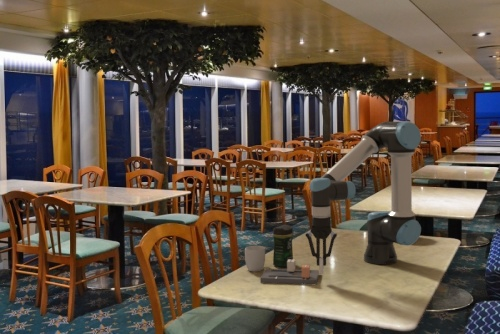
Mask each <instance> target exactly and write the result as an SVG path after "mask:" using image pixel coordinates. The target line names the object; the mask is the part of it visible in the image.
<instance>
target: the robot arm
mask: <svg viewBox="0 0 500 334" xmlns="http://www.w3.org/2000/svg"><path fill="white" fill-rule="evenodd" d="M421 134H422V133H421V131H420V129H419V127H418V126H417V125H416V124H415V123H413V122H410V121H403V120H402V121H384V122H380V123H378V124H377V125H375V126H374V127H372V128H371V129H370V130H368V131H367V132H366V133H365V134H363V136H362V137H361V139H360V141H359V142H358V143H357V144H356V145H355V146H354V147H353V148H351V149H350V150H349V151H348V152H347V153H346V154H345V155H344V156H343V157H342V158H341V159H339V161H337V162H336V163H335V164H334V165H333V166H332V167H331V168H329V170H327V172H325V174H323V175H322V176H320V177H316V178H313V179H311V181H310V184H309V189H310V192H311V216H312V217H311V228H310V230H309V231H308V232H307V231H306V232H305V237H306V238H307V240H308V244H309V248H310V252H311V256H312V257H315V258H316V266H319V269H318V270H319V275H324V267H325V266H327V258H330V257H331V254H332V251H333V246H334V242H335V240H336V239H337V236H338V233H337V232H334V231H333V230H332V227H331V217H330V216H331V202H332V201H342V200H343V201H344V200H350V199H353V198H354V197H355V195H356V193H357V192H356V191H357V190H356V186H355V184H354V182H352V181H350V180H345V179H347V177H348V176H350V175H351V174H352V173H353V172H354V171H355V170H356V169H357V168H358V167H359V166H360V165H362V164H363V163H364V162H365V161H366V160H367V159H368V158H369V157H370V156H371V155H372V154H377V153H378V152H379V151H380V150H383V149H386V148H387V154H388V155H389V156H390V162H391V163H390V166H391V168H390V170H391V172H390V173H391V174H390V175H391V178H390V179H391V182H390V183H391V184H390V188H391V189H390V191H391V194H390V195H391V197H390V198H391V199H390V200H391V210H383V211H380V210H379V211H373V212H369V213H368V215H367V221H366V222H367V245H366V248H365V252H364V255H363V261H365V262H366V263H369V264H374V265H392V264H395V263H397V262H398V255H397V252H396V248H395V246H394V243H395V244H398V245H401V246H407V247H408V246H411V245H413V244H415V243H416V242H417V240H419V238H420V236H421V232H422V227H421V224H420V223H419V221H418V220H416V213H415V212H414V211H413V210H412V203H413V202H412V194H413V193H412V189H413V188H412V157H413V155H414V154H415V153H416V148H418V147H419V144H421V140H422V137H421ZM312 236H314V238H315V239H316V240H315V241H316V249H315V246H314V242H313V238H312ZM329 236H330V237H331V238H330V243H329V247H328V251H327V238H329ZM321 240H322V256H321V253H320V252H321ZM315 250H316V251H315Z"/></svg>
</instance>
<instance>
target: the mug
mask: <svg viewBox="0 0 500 334" xmlns="http://www.w3.org/2000/svg"><path fill="white" fill-rule="evenodd" d="M244 260H245V265H246V269H247V271H249V272H255V273H256V272H262V271H263V270H264V267H265V263H266V248H265V246H262V245H248V246H246V247H245V248H244Z"/></svg>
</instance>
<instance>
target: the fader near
mask: <svg viewBox="0 0 500 334" xmlns="http://www.w3.org/2000/svg"><path fill="white" fill-rule="evenodd" d="M301 270H302V277H304V278H309V276H310V270H311V265H310V264H302V265H301Z"/></svg>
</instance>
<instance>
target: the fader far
mask: <svg viewBox="0 0 500 334" xmlns="http://www.w3.org/2000/svg"><path fill="white" fill-rule="evenodd" d="M286 269H287V271H289V272H294V271H295V270H296V259H294V258H293V259H288V261H287V267H286Z"/></svg>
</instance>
